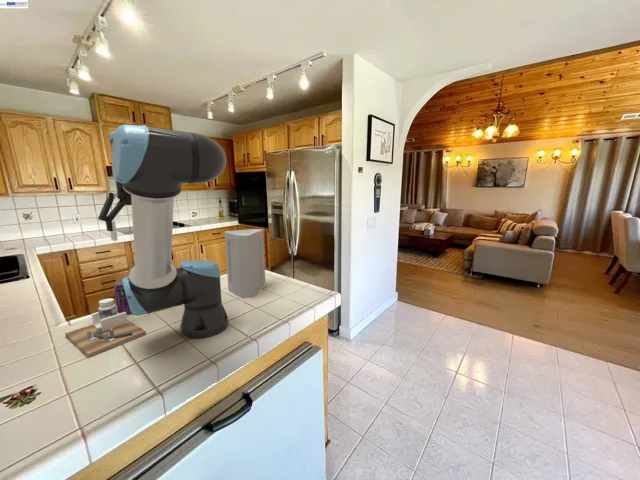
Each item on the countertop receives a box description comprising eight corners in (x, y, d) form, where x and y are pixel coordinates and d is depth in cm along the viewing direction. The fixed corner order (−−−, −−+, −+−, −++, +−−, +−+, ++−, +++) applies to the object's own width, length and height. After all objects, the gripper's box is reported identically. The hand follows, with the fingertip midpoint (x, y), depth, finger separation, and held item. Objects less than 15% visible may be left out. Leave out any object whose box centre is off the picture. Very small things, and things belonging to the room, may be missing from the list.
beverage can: (128, 316, 99) (124, 285, 97) (113, 314, 101) (108, 284, 98) (144, 308, 106) (140, 279, 104) (129, 306, 107) (125, 278, 105)
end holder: (127, 323, 91) (126, 312, 91) (102, 332, 86) (101, 320, 85) (117, 316, 96) (115, 306, 95) (93, 324, 90) (91, 314, 90)
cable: (133, 334, 84) (133, 331, 84) (122, 341, 80) (122, 338, 80) (98, 330, 87) (98, 328, 86) (86, 337, 83) (85, 335, 82)
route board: (146, 334, 87) (144, 323, 86) (88, 357, 74) (86, 345, 74) (120, 318, 98) (118, 308, 97) (65, 336, 85) (63, 325, 84)
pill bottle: (97, 327, 89) (93, 303, 87) (107, 320, 93) (103, 297, 92) (112, 326, 89) (108, 303, 87) (121, 319, 94) (118, 297, 92)
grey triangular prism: (238, 282, 136) (235, 228, 131) (266, 284, 134) (263, 229, 129) (219, 297, 117) (214, 234, 112) (251, 299, 115) (248, 235, 110)
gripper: (158, 180, 107) (164, 232, 111) (79, 177, 86) (89, 241, 90) (169, 179, 103) (174, 233, 107) (89, 176, 82) (99, 243, 86)
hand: (136, 237), depth 98 cm, fingers open, 13 cm apart
